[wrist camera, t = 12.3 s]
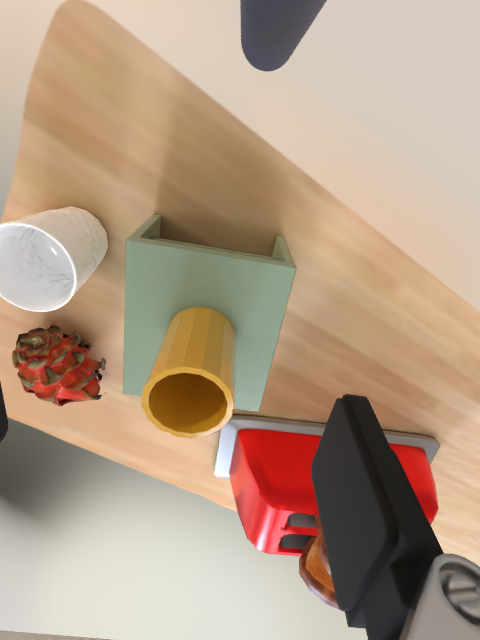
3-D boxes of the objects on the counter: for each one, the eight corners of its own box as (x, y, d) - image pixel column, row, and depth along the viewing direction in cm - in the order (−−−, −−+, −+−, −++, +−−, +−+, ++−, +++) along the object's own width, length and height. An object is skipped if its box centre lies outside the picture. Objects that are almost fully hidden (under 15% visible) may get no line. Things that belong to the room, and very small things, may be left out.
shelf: (153, 213, 37) (125, 239, 28) (283, 236, 38) (296, 268, 29) (146, 341, 44) (122, 393, 36) (255, 357, 46) (258, 412, 37)
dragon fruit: (43, 302, 44) (113, 360, 50) (-14, 354, 41) (68, 408, 48) (51, 314, 37) (132, 380, 43) (-16, 376, 34) (79, 437, 41)
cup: (168, 301, 31) (143, 360, 23) (241, 312, 31) (241, 374, 23) (163, 361, 34) (139, 432, 26) (230, 370, 34) (226, 443, 26)
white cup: (118, 273, 40) (83, 314, 31) (48, 270, 40) (-7, 310, 31) (109, 202, 36) (67, 224, 28) (32, 198, 36) (-35, 219, 27)
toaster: (439, 435, 52) (532, 578, 35) (407, 491, 58) (474, 635, 41) (223, 411, 50) (213, 551, 33) (213, 471, 56) (201, 615, 39)
